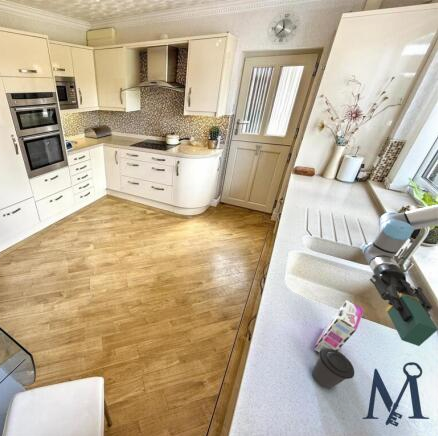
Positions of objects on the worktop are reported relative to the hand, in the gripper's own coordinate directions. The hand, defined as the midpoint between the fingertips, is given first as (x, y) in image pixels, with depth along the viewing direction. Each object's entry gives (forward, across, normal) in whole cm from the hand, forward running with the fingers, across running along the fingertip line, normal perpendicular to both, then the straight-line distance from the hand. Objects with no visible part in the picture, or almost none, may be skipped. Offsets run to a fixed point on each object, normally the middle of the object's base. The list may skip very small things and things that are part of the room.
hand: (418, 321), depth 67 cm
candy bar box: (+5, +17, -17) cm, 25 cm away
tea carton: (-3, 0, -6) cm, 7 cm away
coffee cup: (+18, +20, -17) cm, 32 cm away
